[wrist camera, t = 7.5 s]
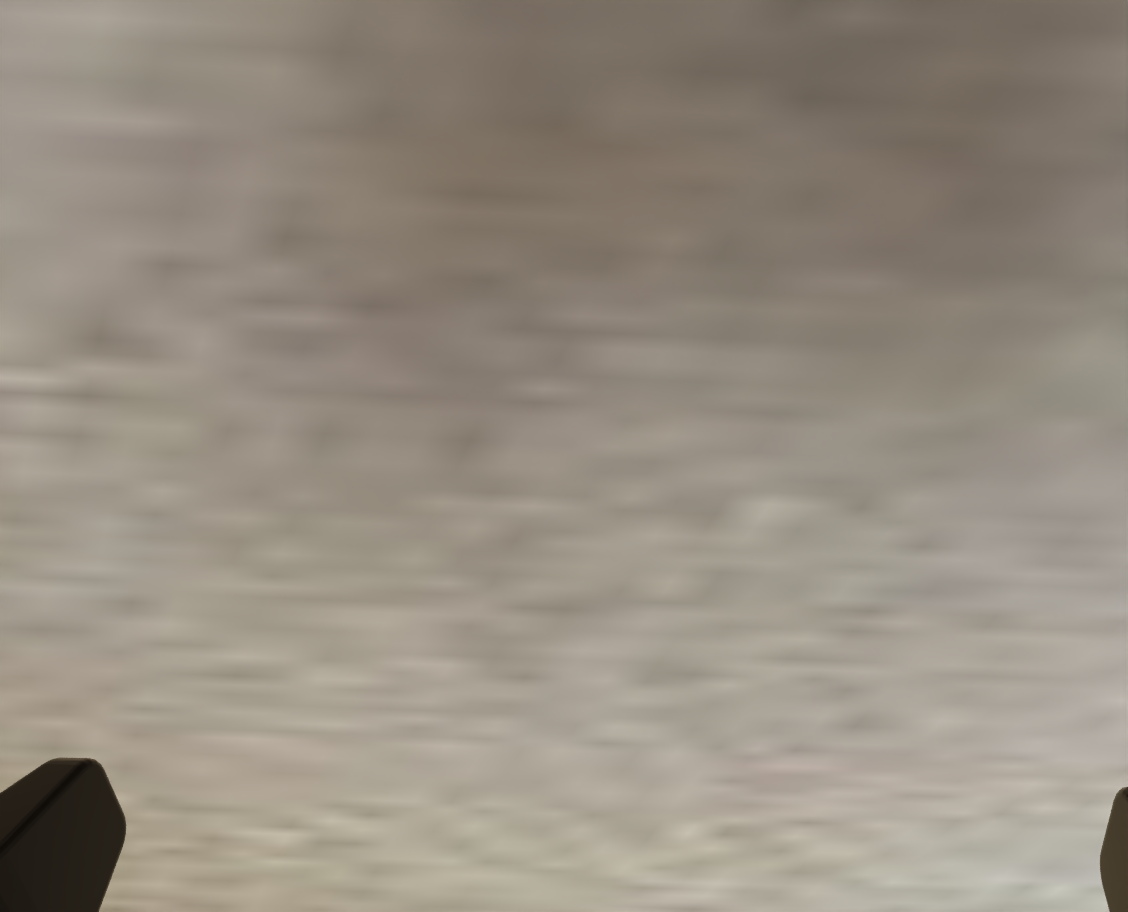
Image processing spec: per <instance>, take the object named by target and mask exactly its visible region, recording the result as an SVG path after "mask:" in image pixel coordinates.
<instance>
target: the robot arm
mask: <svg viewBox="0 0 1128 912" xmlns="http://www.w3.org/2000/svg"><path fill="white" fill-rule="evenodd" d="M125 835H126V821H125V816H124V813H123V811H122V808H121V806H120V804H119V802H118V799H117V797H116V795H115V793H114V791H113V788H112V786H111V784H110V782H109V779H108V777H107V775H106V773H105V770H104V768H103V767H102V765H101V764H100V763H98V762H97V761H96V760H94V759H90V758H56V759H52V760H50V761H48V762H46V763H44V764H43V765H41V766H40V767H38V768H37V769H35V770H34V771H32V772H31V773H29V774H28V775H26V776H25V777H23V778H22V779H20V780H19V781H17V782H16V783H14V784H13V785H12V786H10V787H9V788H7V789H6V790H4V791H3V792H1V793H0V912H99V909H100V907H101V904H102V901H103V899H104V896H105V893H106V891H107V888H108V885H109V882H110V880H111V877H112V874H113V872H114V869H115V866H116V863H117V861H118V858H119V855H120V853H121V850H122V847H123V844H124V840H125ZM1100 872H1101V879H1102V884H1103V888H1104V892H1105V896H1106V900H1107V903H1108V907H1109V911H1110V912H1128V787H1125V788H1122V789H1121V790H1119V792H1118V793H1117V794H1116V796H1115V799H1114V802H1113V806H1112V810H1111V814H1110V818H1109V822H1108V826H1107V830H1106V834H1105V838H1104V841H1103V845H1102V849H1101V855H1100Z"/></svg>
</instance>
